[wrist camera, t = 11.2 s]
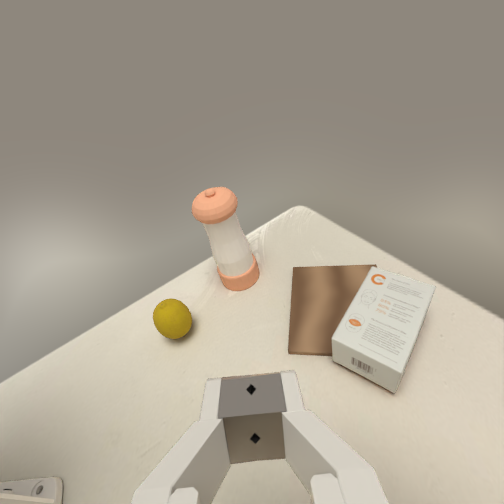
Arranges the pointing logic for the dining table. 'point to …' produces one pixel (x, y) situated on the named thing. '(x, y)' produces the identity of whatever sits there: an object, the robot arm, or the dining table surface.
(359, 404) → the dining table surface
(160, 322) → the lemon
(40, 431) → the dining table surface
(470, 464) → the dining table surface
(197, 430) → the robot arm
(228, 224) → the pepper shaker
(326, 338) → the walnut board
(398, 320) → the small box
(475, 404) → the dining table surface
